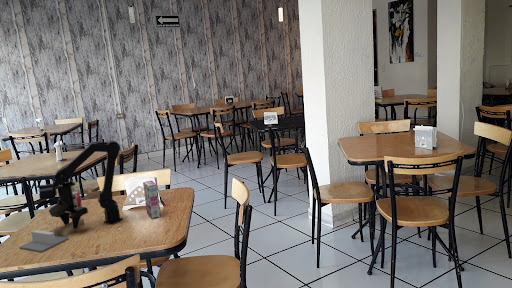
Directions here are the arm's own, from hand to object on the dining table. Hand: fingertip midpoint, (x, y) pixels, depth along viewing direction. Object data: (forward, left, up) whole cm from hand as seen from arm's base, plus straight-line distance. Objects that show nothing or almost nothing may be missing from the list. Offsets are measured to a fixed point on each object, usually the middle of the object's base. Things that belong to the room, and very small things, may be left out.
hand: (71, 228), depth 183 cm
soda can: (+16, -16, -1) cm, 23 cm away
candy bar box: (-27, -26, -1) cm, 38 cm away
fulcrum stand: (-1, +15, -1) cm, 15 cm away
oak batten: (0, 0, -1) cm, 1 cm away
